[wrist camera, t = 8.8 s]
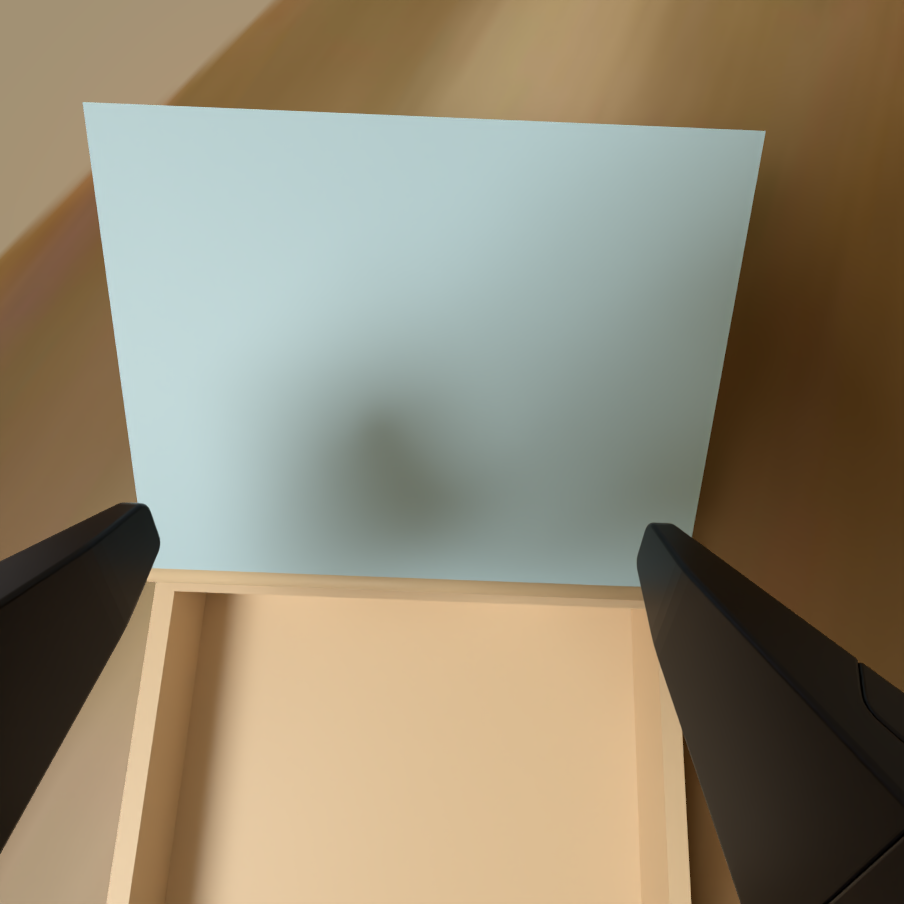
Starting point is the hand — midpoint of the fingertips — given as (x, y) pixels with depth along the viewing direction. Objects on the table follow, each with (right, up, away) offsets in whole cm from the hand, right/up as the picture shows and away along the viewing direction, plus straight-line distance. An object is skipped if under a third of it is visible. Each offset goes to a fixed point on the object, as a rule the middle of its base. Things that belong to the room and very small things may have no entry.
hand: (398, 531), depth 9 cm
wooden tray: (0, -9, +8) cm, 12 cm away
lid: (0, +3, +4) cm, 5 cm away
